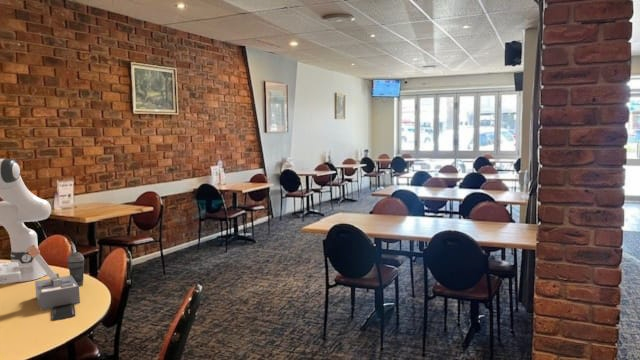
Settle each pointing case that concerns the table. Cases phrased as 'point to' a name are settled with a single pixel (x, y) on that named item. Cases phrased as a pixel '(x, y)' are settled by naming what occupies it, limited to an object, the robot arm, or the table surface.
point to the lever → (41, 261)
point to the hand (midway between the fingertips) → (33, 268)
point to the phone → (63, 311)
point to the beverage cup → (76, 266)
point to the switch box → (57, 292)
